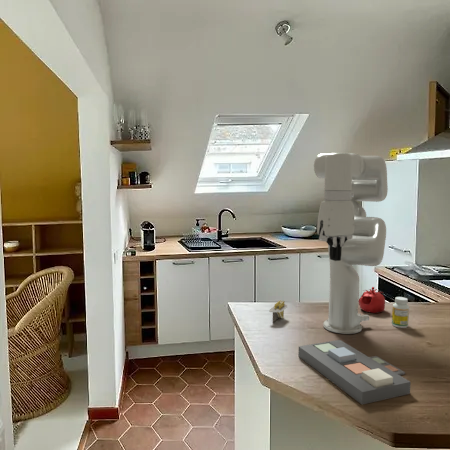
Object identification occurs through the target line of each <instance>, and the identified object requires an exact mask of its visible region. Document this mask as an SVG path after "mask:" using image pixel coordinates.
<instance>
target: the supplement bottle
mask: <svg viewBox="0 0 450 450" xmlns="http://www.w3.org/2000/svg"><path fill="white" fill-rule="evenodd" d="M408 300H409V299H408V298H407V297H402V296H396V297H395V299H394V302H395V303H393V304H392V309H391V311H392V313H391V324H392V326H393V327H395V328H399V329H405V328H408V327H409V319H410V305H409V304H408V302H409V301H408Z"/></svg>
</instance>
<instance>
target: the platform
mask: <svg viewBox="0 0 450 450" xmlns="http://www.w3.org/2000/svg"><path fill="white" fill-rule="evenodd" d="M286 308H288V304H286V303H285V301H282V300H278V301H277V302H276V303H274V305H273V307H271V308H270V309H269V312H270V313H272V323H274V322H276V321H277V320H279V319H283V318H284V319H285V317H284V314H285V313H284V312H285V309H286Z"/></svg>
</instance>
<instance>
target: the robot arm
mask: <svg viewBox="0 0 450 450" xmlns="http://www.w3.org/2000/svg"><path fill="white" fill-rule="evenodd" d="M313 163H314V164H313V171H314V173H315V175H316V178H319V179H324V190H323V192H324V194H323V195H324V196H323V201H322V200H321V201H320V206H319V209H318V210H319V211H318V216H317V226H316V233H317V235H319V237H318V239H319V241H322V242H326V244H327V245H328V246H327V251H328V258H329V260H328V261H329V290H328V292H329V293H328V318H327V319H326V320H324V321H323V328H325V329H326V330H327V331H329V332H332V333H337V334H343V335H352V334H357V333H360V332H362V331H363V325H362V324H361V323H362V322H367V321H369V320H370V316H369V314H361V313H359V302H358V301H359V299H360V297H359V296H360V294H359V293H360V275H359V274H358V271H357V270H356V268H355V267H354V266H366V267H367V266H368V267H377V266H380V264H381V263H382V262H383V259H384V254H385V246H386V240H387V239H386V238H387V225H386V222H385V221H384V219H383V218H380V217H375V216H367V212H366V210H365V208H364V207H363V206H362V205H361V204H360V203H359V202H370V203H371V202H376V203H377V202H378V203H379V202H382V201H384V200H386V198H387V196H388V191H389V188H388V170H387V163H386V161H385V158H383V156H380V155H360V154H359V153H355V152H331V153H329V152H328V153H327V152H326V153H324V152H322V153H319V154H318V155H317V156H316V157H315V159H314V162H313Z"/></svg>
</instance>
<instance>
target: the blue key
mask: <svg viewBox="0 0 450 450" xmlns="http://www.w3.org/2000/svg"><path fill="white" fill-rule="evenodd" d="M328 356H329V357H331V358H332V359H334V360H335V361H336V362H338V363H343V362H348V361H354V360H355V354H354V353H353V352H351V351H349V350H348V349H346V348H345V347H341V348H335V349H329V350H328Z"/></svg>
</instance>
